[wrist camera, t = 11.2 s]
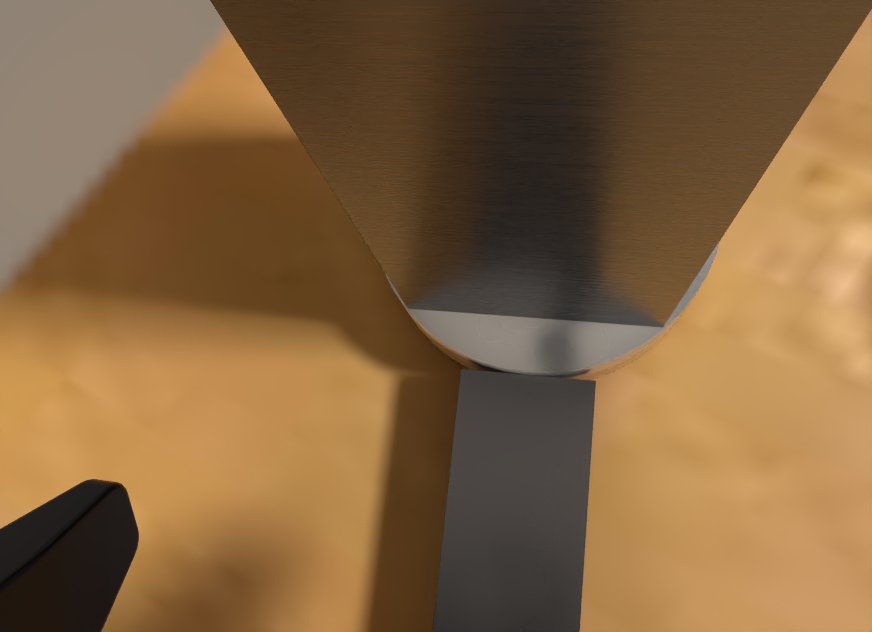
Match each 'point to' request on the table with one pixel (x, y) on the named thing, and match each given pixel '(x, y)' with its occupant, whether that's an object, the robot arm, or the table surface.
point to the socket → (543, 135)
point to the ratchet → (523, 462)
